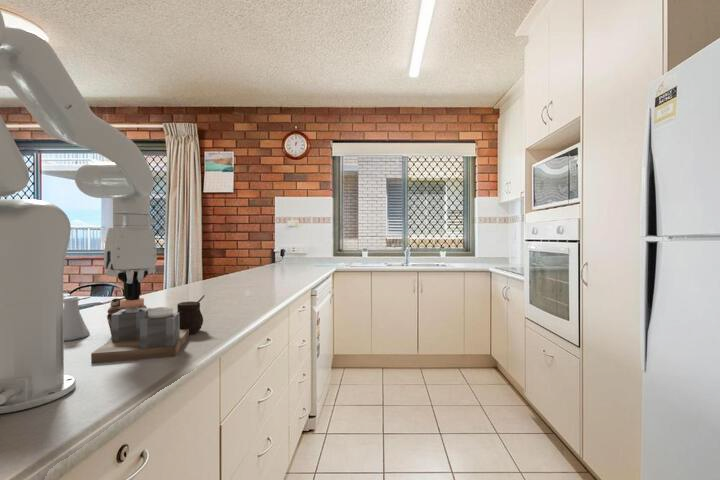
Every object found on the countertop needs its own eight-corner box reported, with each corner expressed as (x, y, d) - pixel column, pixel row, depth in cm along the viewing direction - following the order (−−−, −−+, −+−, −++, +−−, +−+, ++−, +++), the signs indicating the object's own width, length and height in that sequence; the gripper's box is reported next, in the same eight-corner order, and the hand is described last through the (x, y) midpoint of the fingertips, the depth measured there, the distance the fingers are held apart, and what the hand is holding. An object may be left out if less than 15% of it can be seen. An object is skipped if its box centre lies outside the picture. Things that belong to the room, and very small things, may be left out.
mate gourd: (173, 330, 98) (174, 294, 98) (204, 328, 101) (204, 292, 101) (172, 337, 91) (173, 298, 91) (204, 334, 95) (205, 296, 95)
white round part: (170, 337, 78) (170, 310, 78) (145, 339, 77) (145, 311, 77) (175, 331, 83) (174, 306, 83) (151, 333, 81) (151, 307, 81)
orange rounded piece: (140, 325, 83) (140, 300, 83) (116, 327, 82) (116, 301, 82) (146, 321, 88) (146, 297, 88) (124, 322, 87) (124, 298, 87)
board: (175, 356, 77) (175, 319, 77) (91, 363, 73) (91, 323, 73) (188, 336, 92) (188, 305, 92) (119, 341, 87) (119, 309, 87)
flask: (96, 334, 94) (96, 296, 94) (71, 342, 87) (71, 301, 87) (71, 333, 95) (71, 296, 95) (44, 341, 88) (44, 301, 88)
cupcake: (136, 339, 90) (136, 299, 90) (97, 339, 90) (97, 299, 90) (157, 329, 100) (157, 293, 99) (122, 329, 99) (122, 293, 99)
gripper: (153, 223, 93) (154, 293, 94) (87, 221, 80) (88, 303, 80) (171, 223, 90) (171, 296, 90) (105, 221, 77) (105, 306, 77)
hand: (132, 299), depth 85 cm, fingers closed
